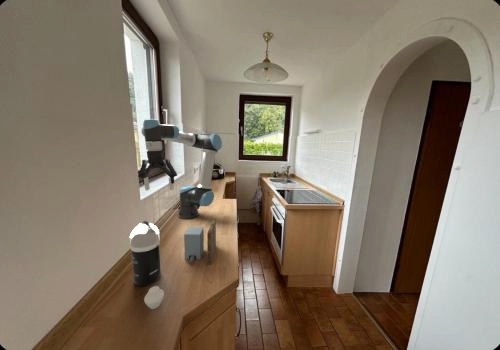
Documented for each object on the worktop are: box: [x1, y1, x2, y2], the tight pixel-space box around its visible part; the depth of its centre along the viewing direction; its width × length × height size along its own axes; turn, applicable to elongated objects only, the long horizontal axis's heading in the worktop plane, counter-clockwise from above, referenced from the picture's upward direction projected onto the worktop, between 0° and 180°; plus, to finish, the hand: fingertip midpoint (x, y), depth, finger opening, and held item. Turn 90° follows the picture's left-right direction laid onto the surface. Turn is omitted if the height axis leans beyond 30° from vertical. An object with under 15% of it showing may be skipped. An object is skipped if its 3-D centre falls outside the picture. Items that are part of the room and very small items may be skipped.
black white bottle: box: [129, 220, 162, 287], centre depth 74 cm, size 10×10×25 cm
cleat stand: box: [188, 218, 217, 266], centre depth 92 cm, size 16×10×16 cm, turn 2°
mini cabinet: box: [183, 226, 205, 260], centre depth 92 cm, size 8×8×13 cm
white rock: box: [143, 285, 165, 310], centre depth 63 cm, size 6×6×7 cm
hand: (159, 189), depth 99 cm, fingers open, 13 cm apart
